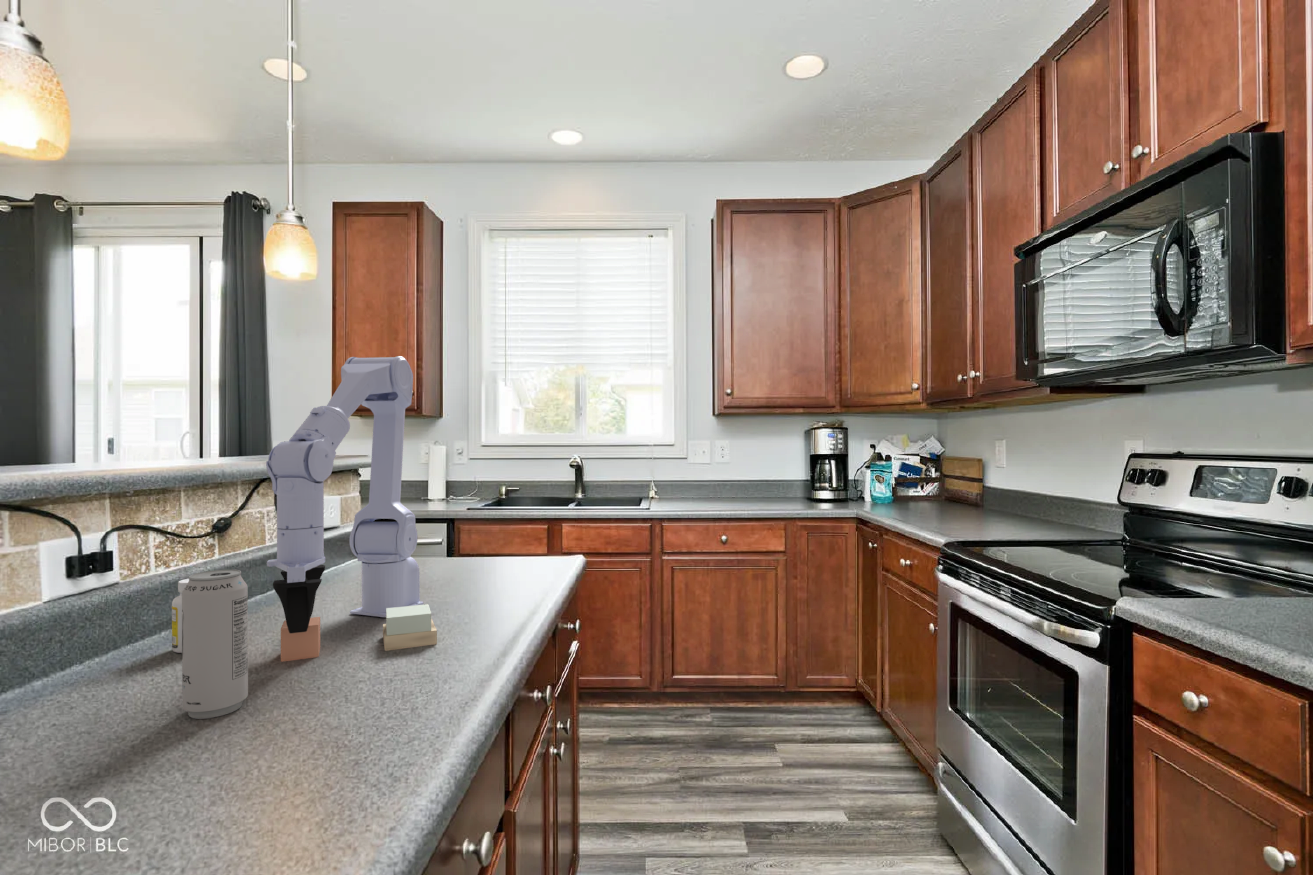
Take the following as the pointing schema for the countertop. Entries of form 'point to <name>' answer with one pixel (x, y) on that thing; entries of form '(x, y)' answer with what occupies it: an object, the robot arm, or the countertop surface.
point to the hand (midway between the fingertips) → (300, 624)
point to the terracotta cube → (301, 642)
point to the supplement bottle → (177, 618)
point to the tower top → (408, 619)
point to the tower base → (409, 639)
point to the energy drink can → (214, 643)
